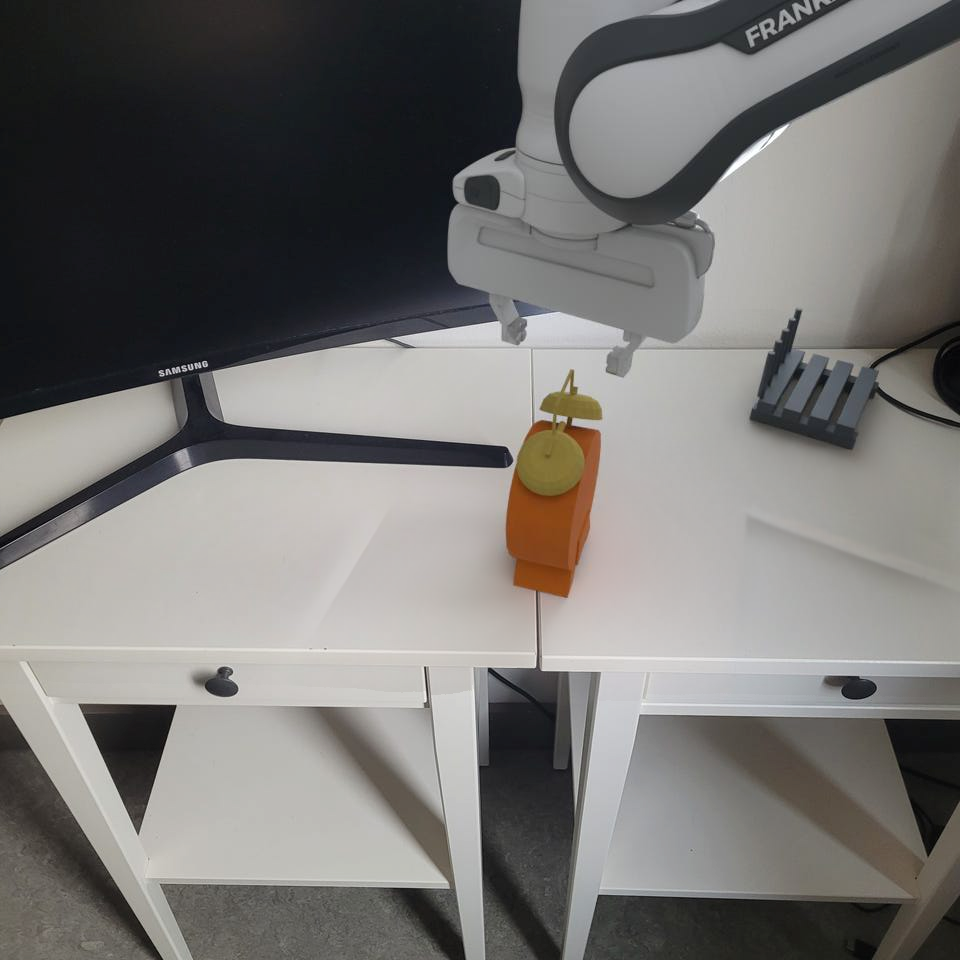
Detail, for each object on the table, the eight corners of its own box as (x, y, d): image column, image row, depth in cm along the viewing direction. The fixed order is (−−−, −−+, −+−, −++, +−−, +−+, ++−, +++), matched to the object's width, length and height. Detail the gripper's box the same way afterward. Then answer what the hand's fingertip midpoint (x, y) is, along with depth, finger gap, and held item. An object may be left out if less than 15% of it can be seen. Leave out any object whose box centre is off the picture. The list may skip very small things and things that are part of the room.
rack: (876, 391, 103) (899, 328, 97) (851, 450, 94) (875, 385, 88) (780, 366, 108) (797, 304, 102) (748, 419, 98) (764, 355, 93)
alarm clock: (538, 506, 87) (546, 342, 74) (595, 518, 85) (613, 352, 72) (502, 595, 77) (504, 424, 64) (565, 610, 76) (581, 438, 63)
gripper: (735, 201, 55) (700, 373, 64) (478, 149, 63) (478, 309, 72) (704, 234, 51) (671, 413, 60) (433, 174, 59) (439, 340, 68)
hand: (564, 355), depth 66 cm, fingers open, 8 cm apart
